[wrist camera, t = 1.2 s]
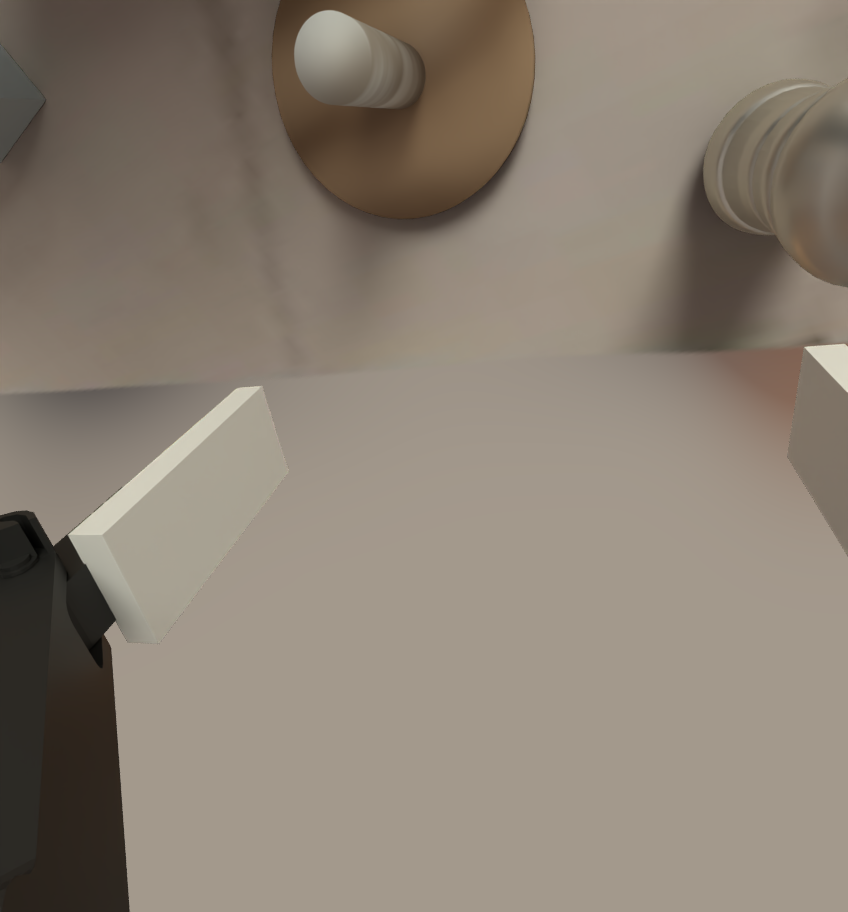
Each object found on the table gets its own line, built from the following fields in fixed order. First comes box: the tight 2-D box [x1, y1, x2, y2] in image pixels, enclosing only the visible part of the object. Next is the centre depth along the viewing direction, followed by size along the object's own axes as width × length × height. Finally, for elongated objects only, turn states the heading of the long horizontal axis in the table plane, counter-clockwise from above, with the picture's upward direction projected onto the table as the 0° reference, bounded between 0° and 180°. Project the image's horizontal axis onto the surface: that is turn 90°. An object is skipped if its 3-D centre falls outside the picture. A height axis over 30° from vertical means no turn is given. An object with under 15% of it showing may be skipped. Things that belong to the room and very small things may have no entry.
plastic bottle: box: [703, 78, 848, 287], centre depth 22 cm, size 6×7×20 cm
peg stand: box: [272, 0, 535, 219], centre depth 27 cm, size 14×14×12 cm
